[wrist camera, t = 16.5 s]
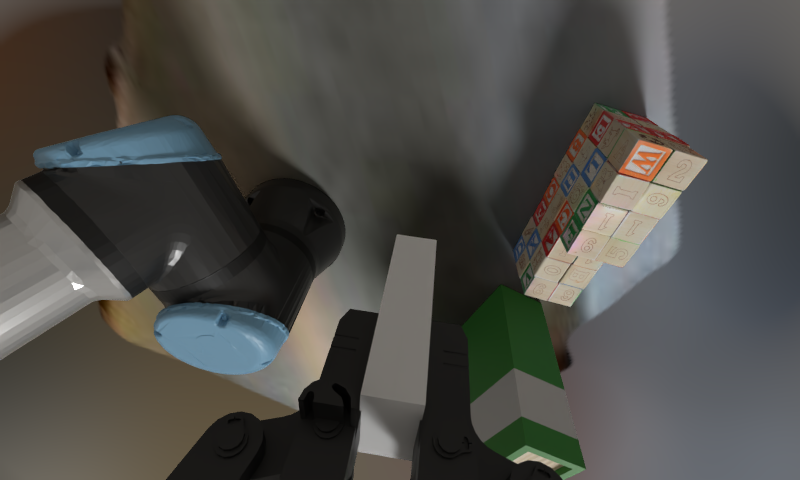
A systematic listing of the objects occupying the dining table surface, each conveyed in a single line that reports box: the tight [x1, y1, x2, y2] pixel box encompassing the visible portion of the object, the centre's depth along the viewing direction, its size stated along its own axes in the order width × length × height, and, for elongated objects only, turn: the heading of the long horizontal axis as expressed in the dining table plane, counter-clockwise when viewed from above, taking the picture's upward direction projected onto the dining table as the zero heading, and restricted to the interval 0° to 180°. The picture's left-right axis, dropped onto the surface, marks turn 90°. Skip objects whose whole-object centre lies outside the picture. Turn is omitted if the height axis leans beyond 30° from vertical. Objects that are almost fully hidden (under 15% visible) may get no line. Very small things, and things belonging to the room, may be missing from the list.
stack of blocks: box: [513, 103, 707, 306], centre depth 41 cm, size 21×6×12 cm, turn 166°
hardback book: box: [461, 284, 586, 480], centre depth 52 cm, size 18×7×24 cm, turn 154°
